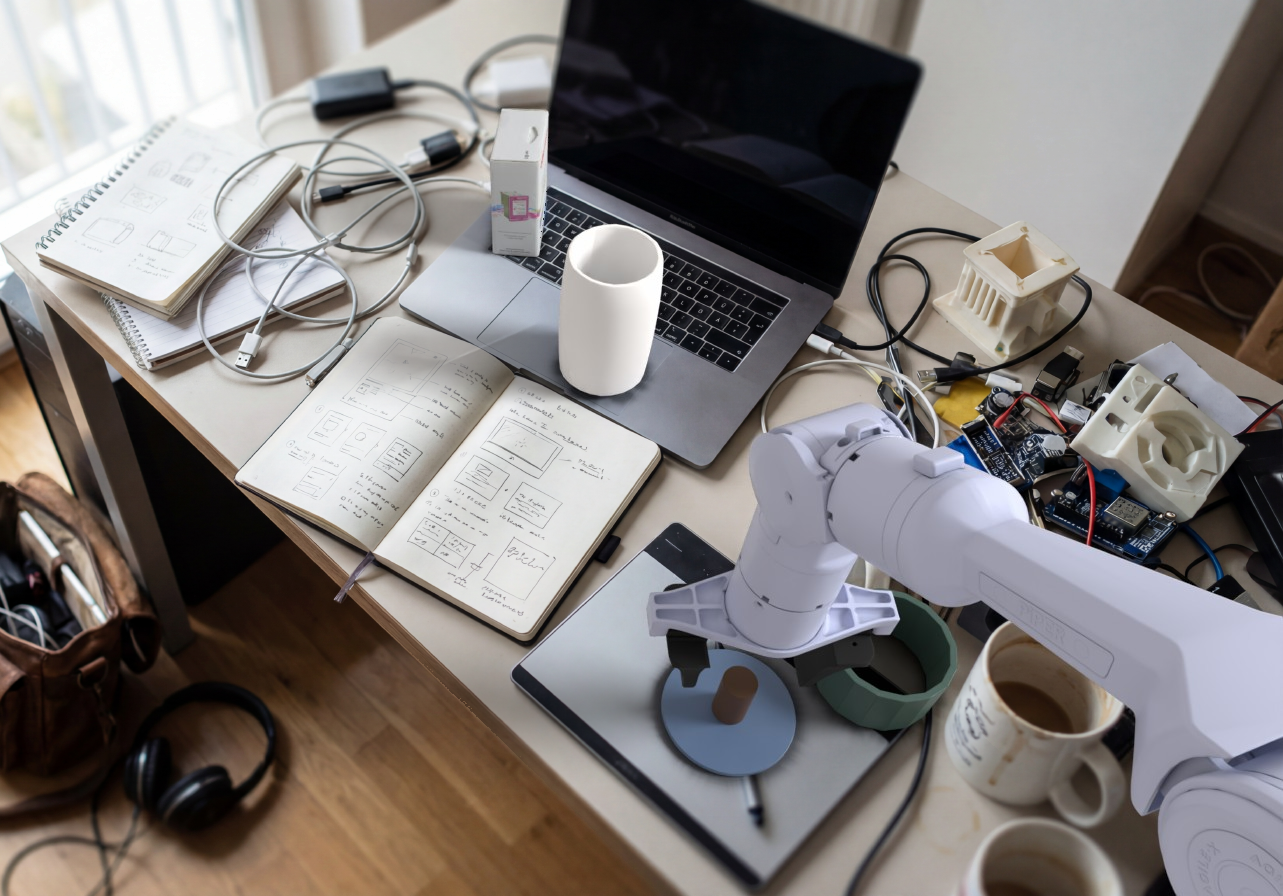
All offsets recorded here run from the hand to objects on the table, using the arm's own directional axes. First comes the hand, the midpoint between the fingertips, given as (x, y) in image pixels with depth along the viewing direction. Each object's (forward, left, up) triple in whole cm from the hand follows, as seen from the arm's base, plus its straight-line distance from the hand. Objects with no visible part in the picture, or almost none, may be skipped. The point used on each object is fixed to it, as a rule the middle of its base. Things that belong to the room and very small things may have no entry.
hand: (743, 673), depth 67 cm
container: (-3, -11, -7) cm, 13 cm away
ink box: (+53, -15, -7) cm, 55 cm away
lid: (0, 0, -6) cm, 6 cm away
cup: (+32, -11, -7) cm, 35 cm away
